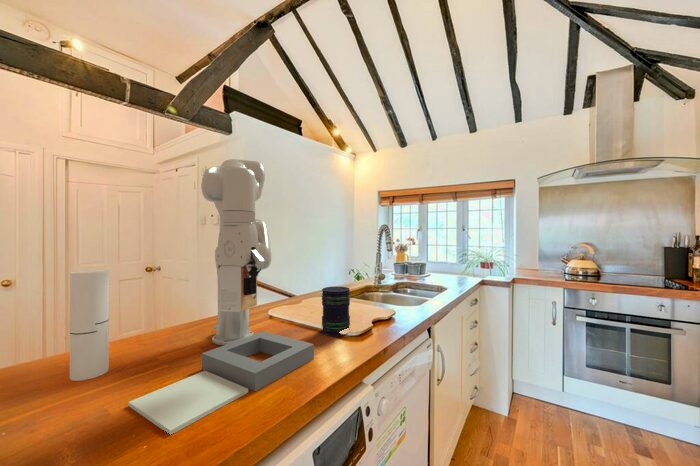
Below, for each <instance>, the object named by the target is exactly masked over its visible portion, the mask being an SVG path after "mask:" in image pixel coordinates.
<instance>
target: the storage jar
mask: <svg viewBox="0 0 700 466" xmlns="http://www.w3.org/2000/svg"><path fill="white" fill-rule="evenodd" d="M350 294H351V293H350V288H349V287H346V286H328V287H327V286H326V287H323V288H322V294H321V305H322V316H321V328H322V329H323V330H321V333H322V334H323V335H326V336H329V337H341V334H340V333H339V332H340V331H342V330H344V329H347V328H349V329H350V327H351V320H350V319H351V316H350V304H351V302H350V301H351V296H350ZM349 326H350V327H349Z"/></svg>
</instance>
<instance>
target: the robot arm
mask: <svg viewBox="0 0 700 466" xmlns="http://www.w3.org/2000/svg"><path fill="white" fill-rule="evenodd" d="M265 177H266V173H265V168H264V166H263V164H262V163H261V162H259V161H256V160H246V159H238V158H237V159H236V158H234V159H233V158H231V159H229V158H228V159H227V160H224V161H223V162H222V163H221V165H219V166H213V167H208V168H206V169H205V170H204V171H203V174H202V178H201V184H200V185H201V187H200V188H201V194H202V196H203V198H204V199H205V200H206V201H209V202H212V203H214V205H215V208H216V210H217V212H218V215H219V233H218V241H217V247H216V248H215V250H214V261H215V268H216V274H217V275H216V276H217V324H215V325H213V326H212V327H213V329H214V330H216V334H214V335H213V336H212V338H211V341H212V343H213V344H214V345H218V346H224V345H227V344H230V343H232V342H235V341H238V340H241V339H244V338H246V337H249V336H252V335H255V334H254V333H255V332H254V331H252V330H251V329H250V308H248V309H246V310H244V311H242V312H220V311H219V267H220V266H240V267H244V273H245V275H246V278H244V295H252V294H256V277H257V278H259V273H260V272H261V271H262V270H266V269H268V268H269V267H270V266H271V262H272V252H271V250H272V249H271V244H270V238H269V237H270V236H269V230H268V226H267V223H266V222H265V221H264V220H262V219H256V201H258V200H259V199H260V198H261V196H262V193H263V187H264V184H265V180H266V178H265ZM249 268H251V270H249Z"/></svg>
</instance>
